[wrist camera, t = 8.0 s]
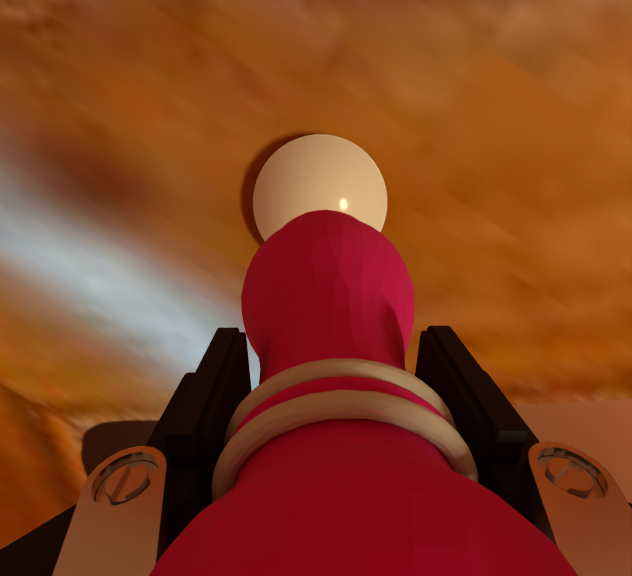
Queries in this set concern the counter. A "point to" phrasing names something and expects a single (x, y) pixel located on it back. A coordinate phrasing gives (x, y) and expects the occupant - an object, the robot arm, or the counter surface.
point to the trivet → (318, 183)
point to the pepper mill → (346, 434)
